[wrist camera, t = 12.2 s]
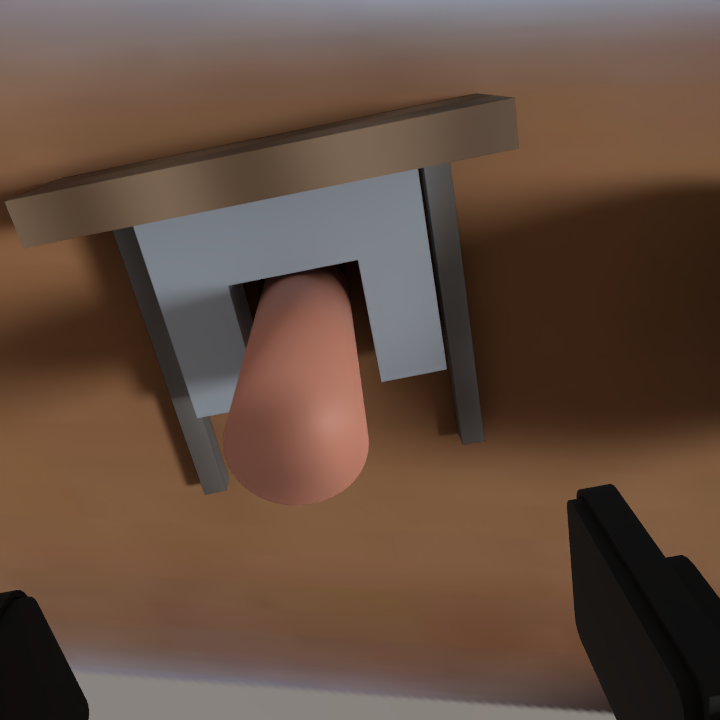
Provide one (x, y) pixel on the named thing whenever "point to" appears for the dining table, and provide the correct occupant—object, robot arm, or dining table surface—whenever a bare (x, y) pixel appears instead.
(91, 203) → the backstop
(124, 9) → the dining table surface
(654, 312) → the dining table surface
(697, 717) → the robot arm
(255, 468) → the dowel
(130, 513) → the dining table surface
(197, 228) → the block
